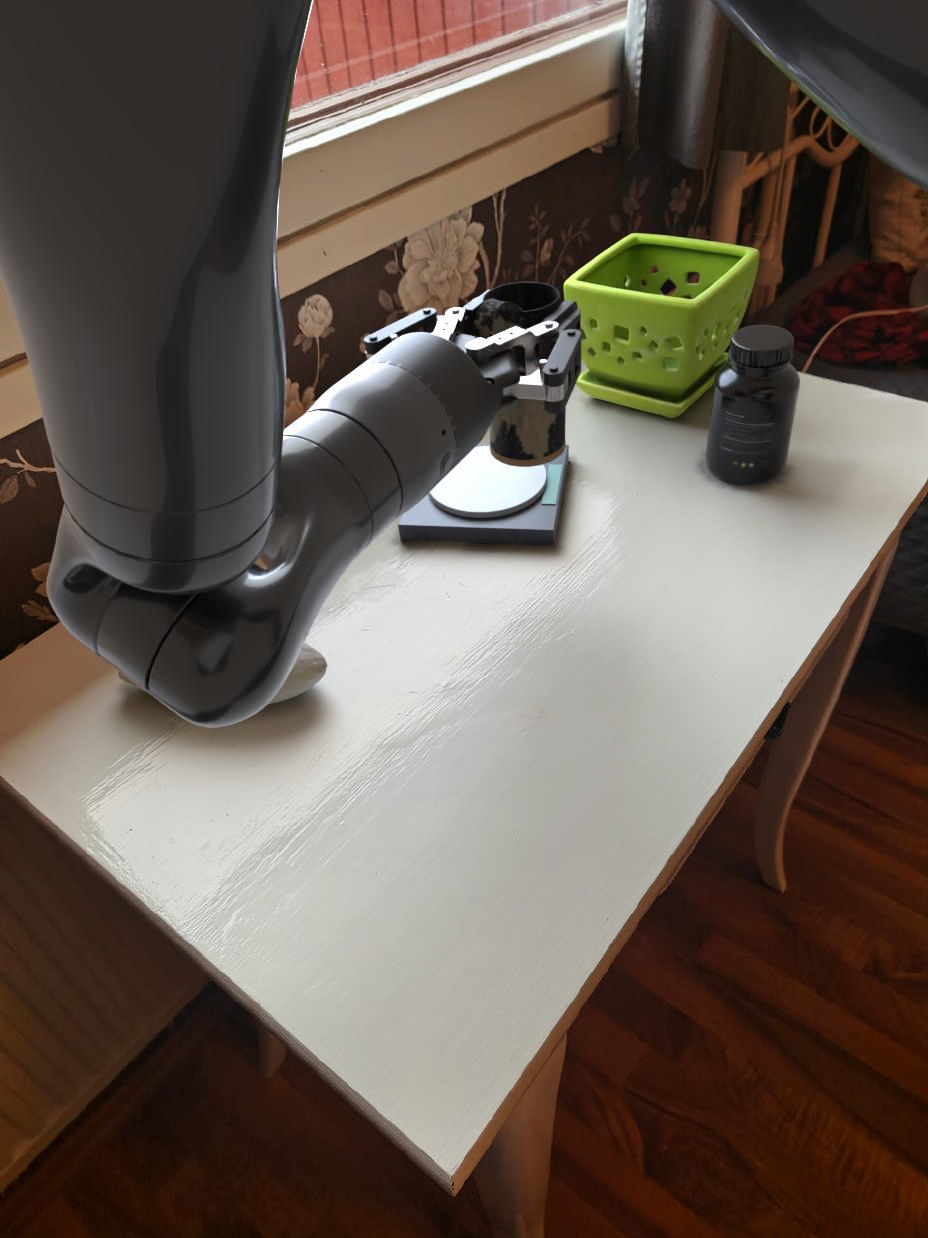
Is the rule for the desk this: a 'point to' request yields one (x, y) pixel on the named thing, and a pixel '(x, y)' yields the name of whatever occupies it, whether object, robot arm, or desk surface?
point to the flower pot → (659, 318)
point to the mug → (524, 426)
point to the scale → (491, 503)
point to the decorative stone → (292, 674)
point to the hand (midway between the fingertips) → (532, 309)
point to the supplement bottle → (753, 407)
